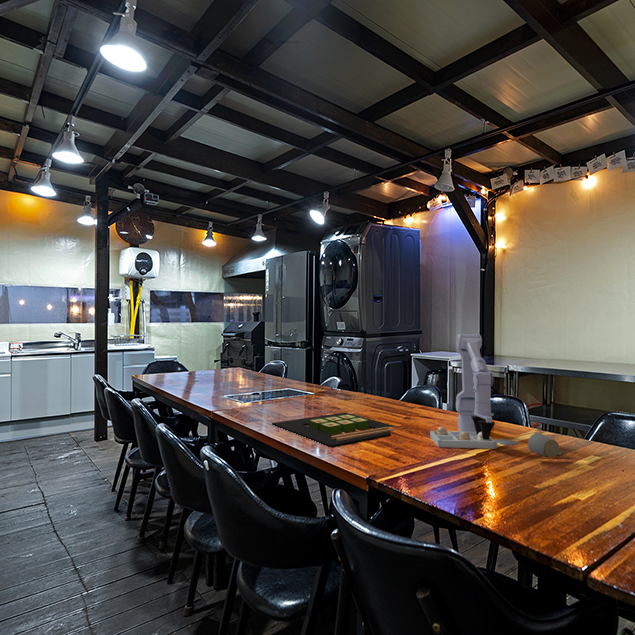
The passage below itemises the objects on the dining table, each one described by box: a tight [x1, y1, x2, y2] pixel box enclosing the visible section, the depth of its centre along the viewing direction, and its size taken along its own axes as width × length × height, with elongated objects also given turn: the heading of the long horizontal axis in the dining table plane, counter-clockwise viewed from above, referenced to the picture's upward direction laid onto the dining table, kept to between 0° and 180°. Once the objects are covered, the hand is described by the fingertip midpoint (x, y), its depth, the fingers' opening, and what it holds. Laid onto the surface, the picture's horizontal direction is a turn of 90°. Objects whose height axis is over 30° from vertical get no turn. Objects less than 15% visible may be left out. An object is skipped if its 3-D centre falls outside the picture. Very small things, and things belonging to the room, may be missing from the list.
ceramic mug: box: [527, 432, 563, 458], centre depth 156 cm, size 11×8×8 cm
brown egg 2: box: [459, 431, 470, 440], centre depth 166 cm, size 4×4×5 cm
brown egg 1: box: [436, 426, 448, 435], centre depth 173 cm, size 4×4×5 cm
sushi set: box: [271, 412, 399, 448], centre depth 195 cm, size 45×45×4 cm
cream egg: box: [477, 432, 488, 441], centre depth 166 cm, size 4×4×5 cm
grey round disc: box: [494, 438, 519, 446], centre depth 170 cm, size 9×9×1 cm
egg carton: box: [429, 430, 498, 450], centre depth 169 cm, size 15×22×4 cm
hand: (482, 437), depth 166 cm, fingers open, 7 cm apart
